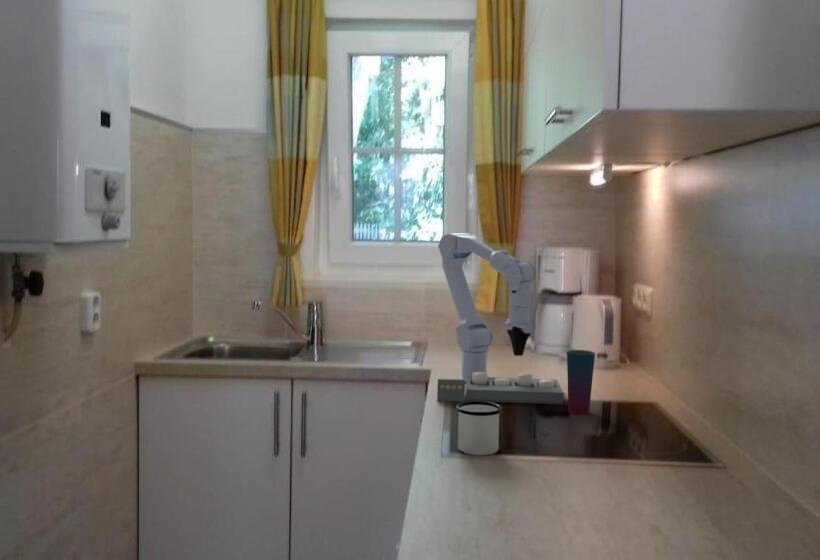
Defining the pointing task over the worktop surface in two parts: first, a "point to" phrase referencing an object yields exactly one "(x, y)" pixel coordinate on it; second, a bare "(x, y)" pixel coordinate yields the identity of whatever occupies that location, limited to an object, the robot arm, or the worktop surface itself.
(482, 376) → the button
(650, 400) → the worktop surface
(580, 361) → the cup
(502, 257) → the robot arm
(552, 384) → the button
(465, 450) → the mug
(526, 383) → the button
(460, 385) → the card
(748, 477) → the worktop surface
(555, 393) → the board
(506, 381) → the button
